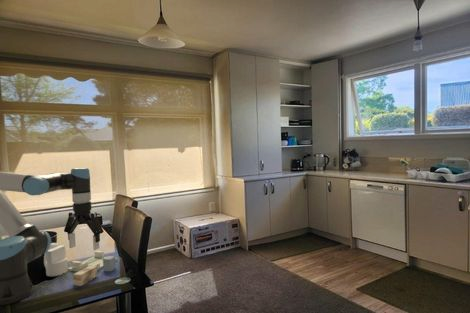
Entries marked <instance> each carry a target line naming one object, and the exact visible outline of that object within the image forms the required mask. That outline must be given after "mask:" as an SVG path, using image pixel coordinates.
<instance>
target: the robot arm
mask: <svg viewBox="0 0 470 313" xmlns="http://www.w3.org/2000/svg"><path fill="white" fill-rule="evenodd" d="M62 190H71V198H72V211H70V212H68V218H67V221H66V224H65V227H64V229H63V232H64V233H67V236H68V237H67V240H68V243H69V249H72V248H74V247H76V232H75V230H76V228H77V226H78V225H79V224H81V223H82V224H86V225H87V227H89V229H90V230H91V232H92V233H93V235H92V244H93V245H92V246H93V247H92V248H93V251H97V250H99V249H100V241H101V237H100V236H101V234H103V233H104V229H103V227H102V225H101V222H100V220H99V218H98V212H91V210H92V201H91V200H92V191H91V174H90V169H89V168H88V167H75V168H71V170H70V172H63V173H62V172H59V173H58V172H53V173H47V174H45V175H44V174H43V175H42V174H41V175H38V174H26V173H18V172H17V173H16V172H8V171H0V227H1V228H2V229H3V230H4V232H5V233H6V234H7V236H8V237H6V238H3V239H0V306H4V305H10V304H13V303H17V302H20V301H22V300H24V299H26V298H28V297H30V296H31V295H32V294H33V293H34V285H33V282H32V280H31V278H30V276H29V275H28V264H29V263H30V262H33V261H34V260H36V259H38V258H41V257H42V256H43V255H45V253H46V252H47V251H48V250H49V248H50V245H51V243H52V238H51V236H50V234H49V233H48V232H47V231H46V230H43V229H38V227H37V226H36V225H35V224H29V222H28V221H27V220H26V219H25V218H24V216H23V215H22V213H21V212H20V211H19V210H18V209H17V207H16V206H15V205H14V204H13V202H12V201H11V200H10V199H9V197H8V196H7V195H6V193H5V191H6V192H8V191H9V192H14V193H15V192H17V193H26V194H28V195H29V196H40V195H44V194H48V193H52V192H56V191H62Z"/></svg>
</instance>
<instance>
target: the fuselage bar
mask: <svg viewBox="0 0 470 313" xmlns="http://www.w3.org/2000/svg"><path fill="white" fill-rule="evenodd" d="M72 277H73V278H72V279H73V280H72V281H73V286H79V287H81V286H84V285H85V284H87V283H88V281H89V282H91V281H92V280H94V279H95V277H96V278H97V277H98V270H97V266H88V267H86V268H84V269H82V270H80V271H79V272H74V273H73V274H72ZM93 278H94V279H93Z"/></svg>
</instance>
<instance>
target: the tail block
mask: <svg viewBox="0 0 470 313" xmlns="http://www.w3.org/2000/svg"><path fill="white" fill-rule="evenodd" d="M105 257H106V258H104V259H103V268H102V269H103V272H108V271H111V272H113V271H114V270H116V269H117V265H116V264H117V263H116V262H117V260H115V258H116V256H113V255H112V256H111V255H109V256H105Z"/></svg>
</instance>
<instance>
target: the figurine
mask: <svg viewBox="0 0 470 313" xmlns="http://www.w3.org/2000/svg"><path fill="white" fill-rule="evenodd" d="M57 246H60V245H59V244H58V243H57V242H51V245H50V248H49V250H50V249H52V248H55V247H57ZM43 255H44V256H43V265H44V268H45V269H46V261H47V260H46V253H44V254H43Z"/></svg>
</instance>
